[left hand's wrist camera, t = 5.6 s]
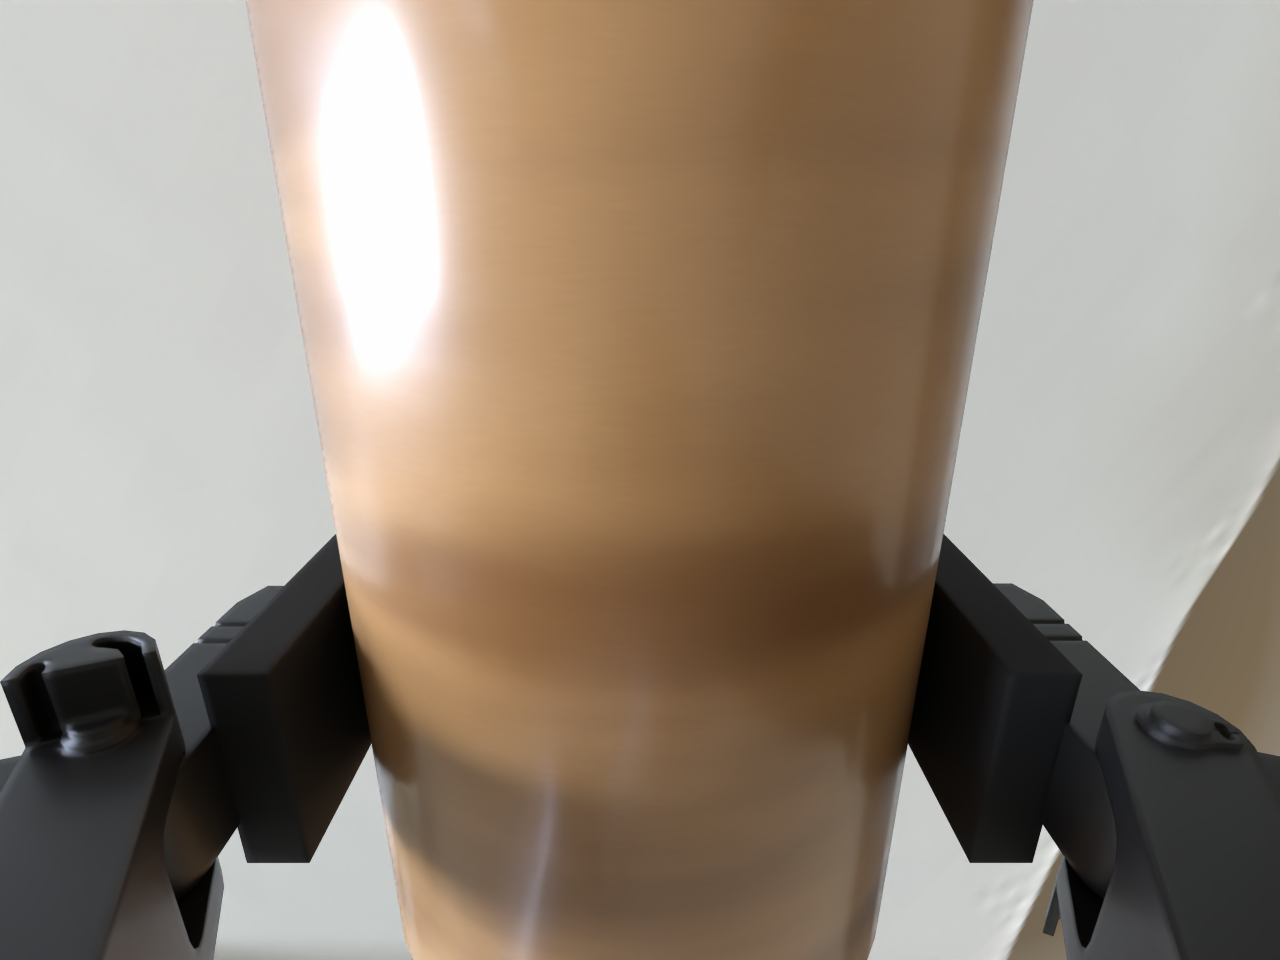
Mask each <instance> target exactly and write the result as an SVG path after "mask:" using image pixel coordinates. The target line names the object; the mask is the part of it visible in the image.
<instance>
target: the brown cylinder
mask: <svg viewBox="0 0 1280 960" xmlns="http://www.w3.org/2000/svg"><path fill="white" fill-rule="evenodd" d="M246 5H247V11H248V17H249V23H250V29H251V35H252V41H253V47H254V52H255V58H256V64H257V70H258V76H259V82H260V88H261V94H262V100H263V106H264V111H265V117H266V123H267V129H268V135H269V141H270V147H271V153H272V159H273V164H274V170H275V176H276V182H277V188H278V194H279V200H280V206H281V212H282V218H283V223H284V229H285V235H286V241H287V247H288V253H289V259H290V265H291V271H292V276H293V282H294V288H295V294H296V300H297V306H298V312H299V318H300V324H301V330H302V335H303V341H304V347H305V353H306V359H307V365H308V371H309V377H310V383H311V388H312V394H313V400H314V406H315V412H316V418H317V424H318V430H319V436H320V442H321V447H322V453H323V459H324V465H325V471H326V477H327V483H328V489H329V495H330V500H331V506H332V512H333V518H334V524H335V530H336V536H337V542H338V548H339V554H340V559H341V565H342V571H343V577H344V583H345V589H346V595H347V601H348V607H349V612H350V618H351V624H352V630H353V636H354V642H355V648H356V654H357V660H358V666H359V671H360V677H361V683H362V689H363V695H364V701H365V707H366V713H367V719H368V724H369V730H370V736H371V742H372V748H373V754H374V760H375V766H376V772H377V778H378V783H379V789H380V795H381V801H382V807H383V813H384V819H385V825H386V831H387V836H388V842H389V848H390V854H391V860H392V866H393V872H394V878H395V884H396V890H397V895H398V901H399V907H400V913H401V919H402V925H403V930H404V936H405V940H406V943H407V946H408V949H409V951H410V954H411V957H412V960H867V958H868V956H869V953H870V950H871V947H872V944H873V942H874V939H875V933H876V927H877V922H878V916H879V910H880V904H881V899H882V893H883V887H884V881H885V875H886V869H887V863H888V857H889V851H890V845H891V839H892V834H893V828H894V822H895V816H896V810H897V804H898V798H899V792H900V786H901V780H902V774H903V768H904V763H905V757H906V751H907V745H908V739H909V733H910V727H911V721H912V715H913V709H914V703H915V698H916V692H917V686H918V680H919V674H920V668H921V662H922V656H923V650H924V644H925V638H926V632H927V627H928V621H929V615H930V609H931V603H932V597H933V591H934V585H935V579H936V573H937V567H938V562H939V556H940V550H941V544H942V538H943V532H944V526H945V520H946V514H947V508H948V502H949V496H950V491H951V485H952V479H953V473H954V467H955V461H956V455H957V449H958V443H959V437H960V431H961V426H962V420H963V414H964V408H965V402H966V396H967V390H968V384H969V378H970V372H971V366H972V360H973V355H974V349H975V343H976V337H977V331H978V325H979V319H980V313H981V307H982V301H983V295H984V290H985V284H986V278H987V272H988V266H989V260H990V254H991V248H992V242H993V236H994V230H995V224H996V219H997V213H998V207H999V201H1000V195H1001V189H1002V183H1003V177H1004V171H1005V165H1006V159H1007V154H1008V148H1009V142H1010V136H1011V130H1012V124H1013V118H1014V112H1015V106H1016V100H1017V94H1018V88H1019V83H1020V77H1021V71H1022V65H1023V59H1024V53H1025V47H1026V41H1027V35H1028V29H1029V23H1030V18H1031V12H1032V6H1033V0H246Z"/></svg>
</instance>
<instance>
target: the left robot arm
mask: <svg viewBox="0 0 1280 960" xmlns="http://www.w3.org/2000/svg"><path fill="white" fill-rule="evenodd" d="M0 682H1V685H2V688H3V690H4V693H5V695H6V698H7V700H8V703H9V706H10V708H11V711H12V713H13V716H14V718H15V721H16V724H17V726H18V729H19V731H20V734H21V736H22V739H23V742H24V744H25V747H26V748H25V750H24V752H23V754H22V755H21V756H17V757H12V758H7V759H2V760H0V960H213V958H214V951H215V944H216V938H217V931H218V924H219V917H220V910H221V904H222V897H223V890H224V883H223V876H222V870H221V867H220V863H219V860H218V855H219V854H220V852H221V851H222V849H223V848H224V846H225V845H226V843H227V842H228V840H229V839H230V837H231V836H232V834H233V833H234V831H235V830H236V828H237V827H238V831H239V834H240V838H241V842H242V845H243V849H244V853H245V857H246V860H247V863H310V861H311V859H312V857H313V855H314V853H315V851H316V849H317V847H318V845H319V843H320V842H321V840H322V838H323V836H324V834H325V832H326V830H327V828H328V826H329V824H330V822H331V820H332V818H333V816H334V815H335V813H336V811H337V809H338V807H339V805H340V803H341V801H342V799H343V797H344V795H345V793H346V791H347V789H348V788H349V786H350V784H351V782H352V780H353V778H354V776H355V774H356V772H357V770H358V768H359V766H360V764H361V763H362V761H363V759H364V757H365V755H366V753H367V751H368V749H369V747H370V745H371V743H372V742H371V736H370V730H369V724H368V719H367V713H366V707H365V701H364V695H363V689H362V683H361V677H360V671H359V666H358V660H357V654H356V648H355V642H354V636H353V630H352V624H351V618H350V612H349V607H348V601H347V595H346V589H345V583H344V577H343V571H342V565H341V559H340V554H339V548H338V542H337V536H336V534H335V535H334V536H333V537H332V538H331V539H330V540H329V541H328V542H327V543H326V544H325V545H324V547H323V548H322V549H321V550H320V551H319V552H318V553H317V554H316V555H315V556H314V557H313V558H312V559H311V560H310V561H309V562H308V563H307V564H306V565H305V566H304V567H303V568H302V569H301V570H300V571H299V572H298V573H297V574H296V575H295V576H294V577H293V578H292V579H291V580H290V581H289V582H288V583H287V584H286V585H285V586H267V587H265V588H263V589H262V590H260V591H258V592H256V593H254V594H252V595H251V596H249V597H247V598H245V599H243V600H241V601H239V602H238V603H236V604H235V605H234V606H233V607H232V608H231V609H230V610H229V611H228V612H227V613H226V614H224V615H223V616H222V617H221V618H220V619H219V620H218V621H217V622H216V626H215V627H211V628H210V629H208V630H207V631H206V632H205V633H204V634H203V635H202V636H201V637H200V638H199V639H198V643H193V644H192V645H191V646H190V647H189V648H188V649H187V650H186V651H185V652H184V653H183V654H182V655H181V656H180V657H178V658H177V659H176V660H175V661H174V662H173V663H172V664H171V665H170V666H169V667H168V668H167V669H166V670H165V671H164V668H163V665H162V661H161V658H160V655H159V651H158V648H157V644H156V641H155V639H153V638H152V637H150V636H148V635H147V634H145V633H142V632H133V631H116V632H106V633H98V634H94V635H90V636H86V637H82V638H78V639H74V640H70V641H68V642H65V643H63V644H60V645H58V646H55V647H53V648H50V649H48V650H45V651H42V652H40V653H38V654H37V655H35V656H33V657H32V658H30V659H28V660H26V661H25V662H23V663H21V664H20V665H18V666H16V667H15V668H14V669H13V670H12V671H11V672H10V673H9V674H8V675H7V676H6V677H5V678H4V679H2V680H1V681H0ZM908 744H909V746H910V748H911V750H912V752H913V754H914V756H915V758H916V760H917V762H918V763H919V765H920V767H921V769H922V771H923V773H924V775H925V777H926V779H927V781H928V783H929V785H930V787H931V788H932V790H933V792H934V794H935V796H936V798H937V800H938V802H939V804H940V806H941V808H942V810H943V812H944V814H945V815H946V817H947V819H948V821H949V823H950V825H951V827H952V829H953V831H954V833H955V835H956V837H957V839H958V841H959V842H960V844H961V846H962V848H963V850H964V852H965V854H966V856H967V858H968V860H969V862H970V863H1032V862H1033V858H1034V855H1035V851H1036V847H1037V843H1038V840H1039V836H1040V832H1041V828H1042V825H1044V827H1045V828H1046V830H1047V831H1048V833H1049V834H1050V836H1051V837H1052V839H1053V840H1054V842H1055V843H1056V845H1057V846H1058V848H1059V849H1060V851H1061V852H1062V854H1063V856H1062V860H1061V863H1060V867H1059V870H1058V874H1057V877H1056V881H1055V884H1054V888H1053V891H1052V895H1051V898H1050V901H1049V905H1048V909H1047V912H1046V915H1045V920H1044V927H1043V933H1045V934H1048V935H1051V936H1054V933H1055V929H1056V926H1057V922H1058V920H1059V919H1061V922H1062V929H1063V936H1064V942H1065V949H1066V956H1067V960H1280V756H1275V755H1270V754H1265V753H1260V752H1257V750H1256V749H1255V747H1254V746H1253V745H1252V743H1251V742H1250V741H1249V740H1248V739H1247V738H1246V737H1245V735H1244V734H1243V733H1242V732H1241V731H1240V730H1239V729H1237V728H1236V727H1235V726H1233V725H1232V724H1230V723H1229V722H1227V721H1226V720H1224V719H1223V718H1222V717H1220V716H1219V715H1217V714H1215V713H1213V712H1211V711H1209V710H1207V709H1204V708H1202V707H1200V706H1198V705H1196V704H1194V703H1192V702H1189V701H1186V700H1182V699H1179V698H1175V697H1172V696H1169V695H1166V694H1162V693H1154V692H1146V691H1140V690H1139V689H1138V688H1137V687H1136V686H1135V685H1134V684H1133V683H1132V682H1131V681H1129V680H1128V679H1127V678H1126V677H1125V676H1124V675H1123V674H1122V673H1121V672H1120V671H1119V670H1118V669H1117V668H1115V667H1114V666H1113V665H1112V664H1111V663H1110V662H1109V661H1108V660H1107V659H1106V658H1105V657H1104V656H1102V655H1101V654H1100V653H1099V652H1098V651H1097V650H1096V649H1095V648H1094V647H1093V646H1092V645H1091V644H1090V643H1088V642H1087V641H1083V640H1082V636H1081V635H1080V634H1079V633H1078V632H1077V631H1076V630H1074V629H1073V628H1072V627H1071V626H1070V625H1069V624H1065V623H1064V619H1063V618H1061V617H1060V616H1059V615H1058V614H1057V613H1056V612H1055V611H1054V610H1053V609H1052V608H1051V607H1050V606H1049V605H1047V604H1046V603H1045V602H1044V601H1043V600H1041V599H1039V598H1038V597H1036V596H1034V595H1032V594H1030V593H1028V592H1026V591H1025V590H1023V589H1021V588H1019V587H1017V586H1015V585H1013V584H993V583H992V582H991V581H990V580H989V579H988V578H987V577H986V576H985V575H984V574H983V573H982V572H981V571H980V570H979V569H978V568H977V567H976V566H975V565H974V564H973V563H972V562H971V561H970V560H969V559H968V558H967V557H966V556H965V555H964V554H963V553H962V552H961V551H960V550H959V549H958V548H957V547H956V546H955V545H954V544H953V543H952V542H951V541H950V540H949V539H948V538H947V537H946V536H945V535H944V534H943V538H942V544H941V550H940V556H939V562H938V567H937V573H936V579H935V585H934V591H933V597H932V603H931V609H930V615H929V621H928V627H927V632H926V638H925V644H924V650H923V656H922V662H921V668H920V674H919V680H918V686H917V692H916V698H915V703H914V709H913V715H912V721H911V727H910V733H909V739H908Z"/></svg>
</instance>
